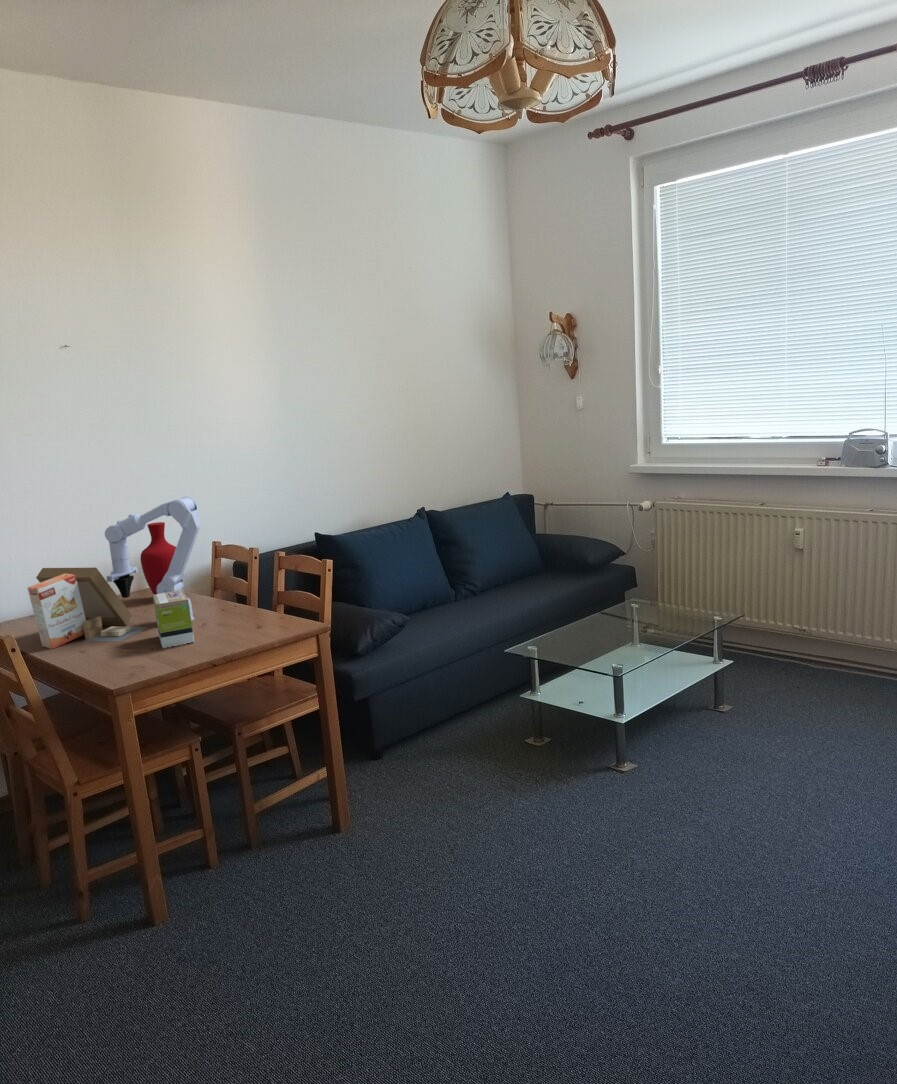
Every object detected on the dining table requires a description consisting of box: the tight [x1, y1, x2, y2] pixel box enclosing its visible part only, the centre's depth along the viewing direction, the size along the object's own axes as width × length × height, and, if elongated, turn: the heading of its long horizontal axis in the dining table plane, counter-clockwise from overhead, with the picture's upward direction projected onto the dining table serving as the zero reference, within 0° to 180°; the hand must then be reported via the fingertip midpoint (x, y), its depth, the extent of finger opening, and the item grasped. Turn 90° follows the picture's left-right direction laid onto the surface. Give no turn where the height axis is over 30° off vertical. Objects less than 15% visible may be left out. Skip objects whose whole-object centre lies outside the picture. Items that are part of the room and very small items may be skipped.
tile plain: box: [83, 616, 104, 640], centre depth 282 cm, size 7×2×6 cm, turn 165°
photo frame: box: [35, 567, 133, 626], centre depth 291 cm, size 15×22×25 cm
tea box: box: [152, 589, 195, 649], centre depth 271 cm, size 15×10×15 cm
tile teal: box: [100, 625, 131, 636], centre depth 284 cm, size 7×2×6 cm
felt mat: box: [82, 626, 149, 643], centre depth 284 cm, size 14×16×1 cm
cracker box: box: [27, 573, 86, 650], centre depth 275 cm, size 14×6×21 cm, turn 148°
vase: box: [140, 521, 177, 595], centre depth 329 cm, size 15×15×30 cm
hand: (125, 597), depth 294 cm, fingers closed
